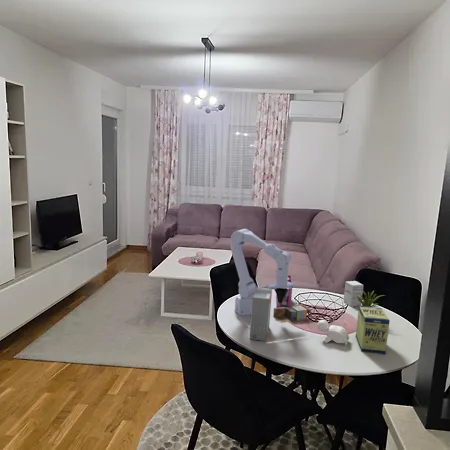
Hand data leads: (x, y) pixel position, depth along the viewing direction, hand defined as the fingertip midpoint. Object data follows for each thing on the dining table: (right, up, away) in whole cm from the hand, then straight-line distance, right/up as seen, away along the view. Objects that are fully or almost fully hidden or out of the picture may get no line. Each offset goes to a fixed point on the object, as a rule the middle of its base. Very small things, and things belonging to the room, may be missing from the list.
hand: (279, 302), depth 206 cm
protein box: (+38, -16, -20) cm, 46 cm away
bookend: (+6, -9, +5) cm, 12 cm away
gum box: (+5, -6, +26) cm, 27 cm away
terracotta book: (+12, -9, +7) cm, 16 cm away
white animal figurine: (+22, -15, -17) cm, 31 cm away
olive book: (+9, -9, +6) cm, 14 cm away
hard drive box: (-11, -12, -14) cm, 22 cm away
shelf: (+7, -9, +5) cm, 13 cm away
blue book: (+10, -9, +6) cm, 15 cm away
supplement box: (+46, -7, +31) cm, 56 cm away
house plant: (+47, -11, +8) cm, 49 cm away
